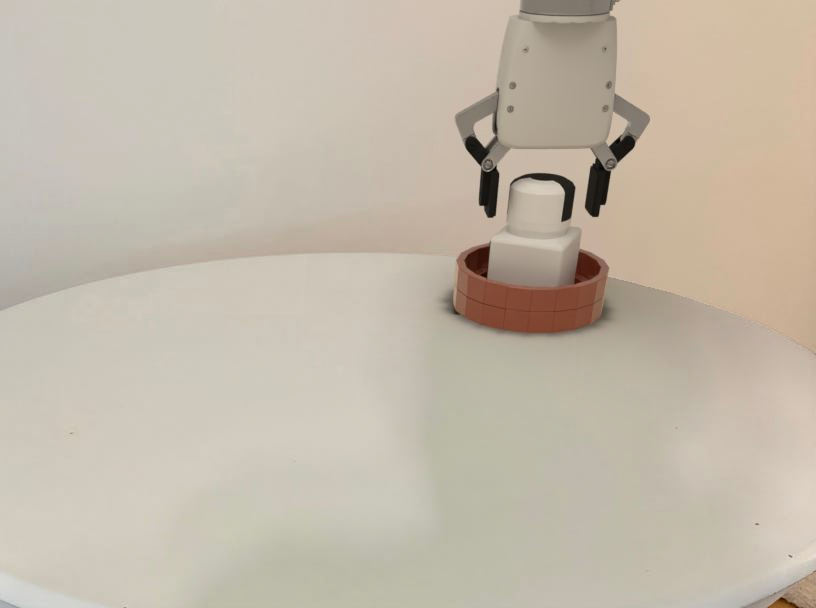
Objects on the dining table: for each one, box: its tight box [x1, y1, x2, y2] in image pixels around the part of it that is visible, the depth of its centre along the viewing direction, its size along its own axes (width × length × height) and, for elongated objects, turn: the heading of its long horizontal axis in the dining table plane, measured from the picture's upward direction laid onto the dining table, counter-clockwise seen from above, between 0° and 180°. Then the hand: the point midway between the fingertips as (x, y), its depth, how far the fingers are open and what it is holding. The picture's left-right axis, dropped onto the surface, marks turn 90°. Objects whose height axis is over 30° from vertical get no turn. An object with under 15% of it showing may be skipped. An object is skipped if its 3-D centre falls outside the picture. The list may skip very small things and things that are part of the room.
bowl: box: [452, 242, 610, 334], centre depth 98 cm, size 15×15×5 cm
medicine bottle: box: [486, 172, 583, 287], centre depth 95 cm, size 7×7×12 cm
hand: (540, 213), depth 93 cm, fingers open, 9 cm apart
